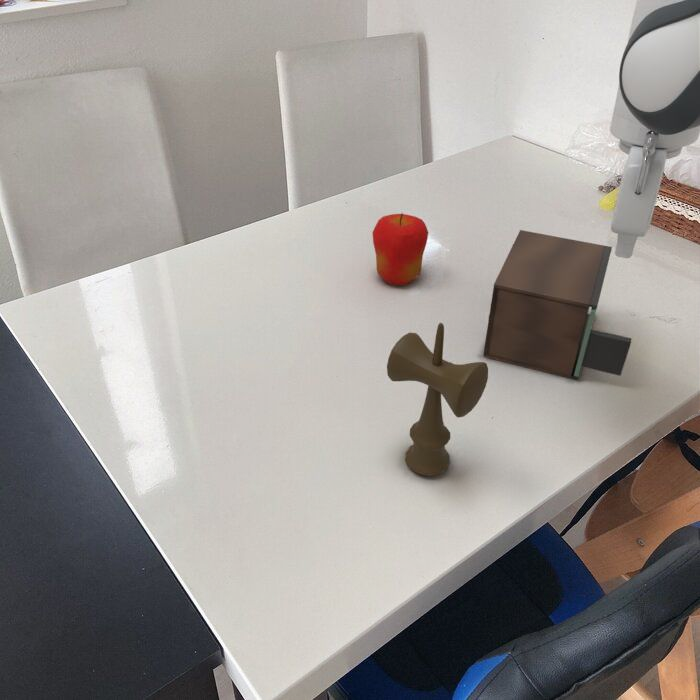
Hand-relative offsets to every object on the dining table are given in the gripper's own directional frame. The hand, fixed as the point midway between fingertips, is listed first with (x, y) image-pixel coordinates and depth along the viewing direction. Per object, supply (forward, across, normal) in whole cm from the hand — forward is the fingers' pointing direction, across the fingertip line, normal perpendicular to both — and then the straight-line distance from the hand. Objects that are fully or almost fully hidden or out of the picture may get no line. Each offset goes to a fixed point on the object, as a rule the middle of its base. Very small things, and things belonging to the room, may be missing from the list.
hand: (627, 236), depth 80 cm
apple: (+20, +12, +33) cm, 40 cm away
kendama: (+20, -25, +15) cm, 36 cm away
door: (+20, +1, 0) cm, 20 cm away
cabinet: (+20, +5, +9) cm, 23 cm away
